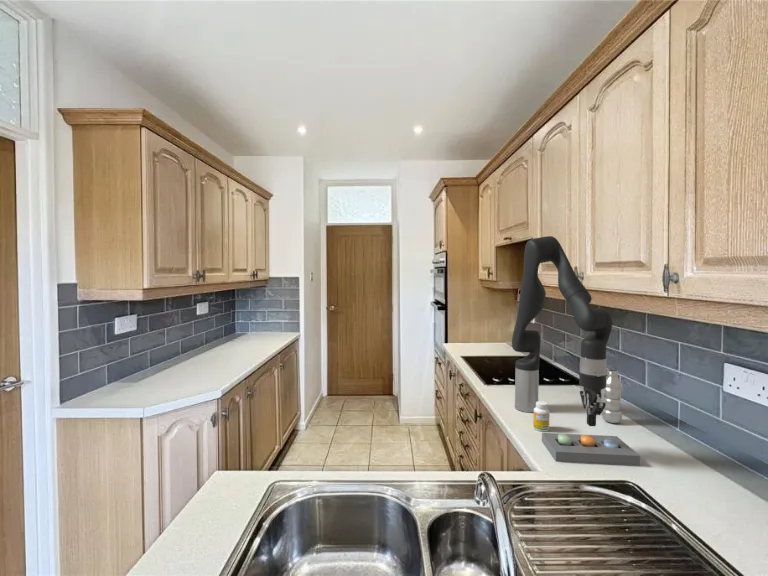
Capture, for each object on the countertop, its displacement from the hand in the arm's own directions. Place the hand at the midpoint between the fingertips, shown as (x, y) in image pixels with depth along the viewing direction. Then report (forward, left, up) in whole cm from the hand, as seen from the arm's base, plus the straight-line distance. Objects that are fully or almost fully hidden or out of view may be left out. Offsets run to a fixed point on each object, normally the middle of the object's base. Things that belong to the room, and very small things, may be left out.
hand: (591, 425), depth 123 cm
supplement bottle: (-18, -10, -9) cm, 22 cm away
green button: (0, -8, -6) cm, 10 cm away
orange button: (0, -1, -6) cm, 6 cm away
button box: (0, -1, -9) cm, 9 cm away
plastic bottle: (-28, +19, -9) cm, 35 cm away
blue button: (0, +6, -7) cm, 10 cm away
